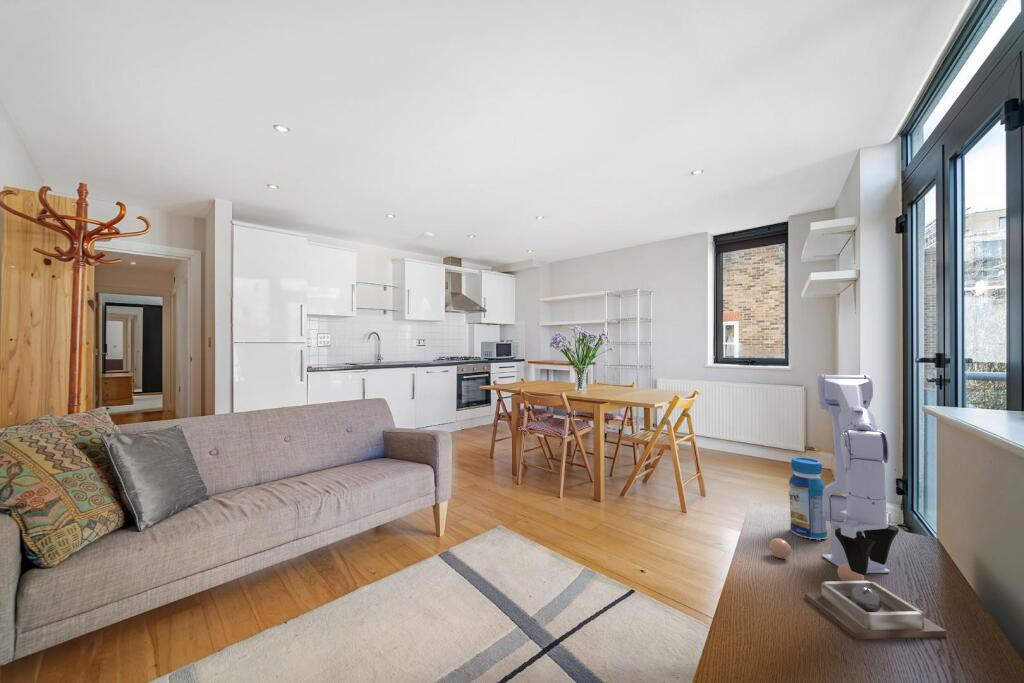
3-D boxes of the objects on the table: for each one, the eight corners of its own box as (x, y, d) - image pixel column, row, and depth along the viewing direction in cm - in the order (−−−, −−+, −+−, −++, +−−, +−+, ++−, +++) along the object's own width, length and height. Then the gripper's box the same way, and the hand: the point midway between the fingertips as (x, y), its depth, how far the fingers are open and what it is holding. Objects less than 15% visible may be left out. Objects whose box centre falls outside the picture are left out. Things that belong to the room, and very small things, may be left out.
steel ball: (858, 595, 80) (853, 576, 79) (887, 607, 76) (882, 587, 75) (849, 611, 78) (844, 591, 77) (879, 623, 74) (873, 603, 73)
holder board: (882, 595, 83) (881, 578, 83) (946, 636, 71) (945, 616, 71) (804, 597, 83) (804, 580, 83) (855, 639, 71) (854, 618, 71)
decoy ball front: (783, 552, 101) (782, 534, 101) (795, 562, 97) (795, 543, 97) (765, 553, 101) (765, 535, 101) (777, 562, 96) (776, 543, 97)
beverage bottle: (830, 544, 105) (827, 465, 106) (790, 536, 110) (788, 461, 110) (826, 531, 112) (823, 458, 113) (789, 525, 117) (786, 454, 117)
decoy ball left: (852, 579, 89) (851, 558, 89) (870, 590, 85) (869, 569, 85) (832, 579, 89) (831, 559, 89) (849, 591, 85) (848, 569, 85)
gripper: (858, 482, 84) (861, 549, 84) (821, 494, 78) (823, 567, 77) (903, 492, 78) (906, 564, 78) (866, 506, 71) (869, 585, 71)
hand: (868, 567), depth 77 cm, fingers open, 7 cm apart
